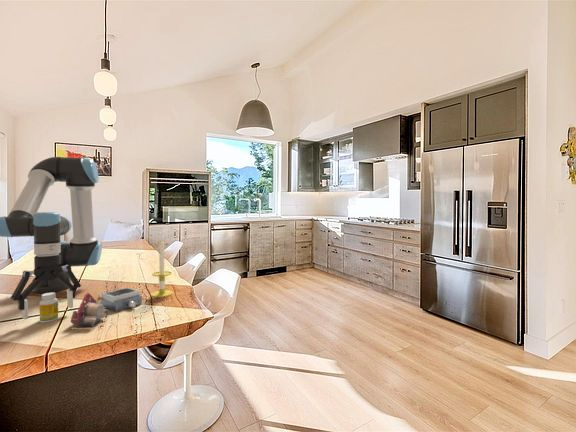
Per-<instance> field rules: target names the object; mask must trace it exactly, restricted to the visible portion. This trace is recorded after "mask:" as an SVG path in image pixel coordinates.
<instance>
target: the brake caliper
mask: <svg viewBox="0 0 576 432" xmlns="http://www.w3.org/2000/svg"><path fill="white" fill-rule="evenodd" d="M104 300H105V298H104V297H103V296H101V294H99V295H98V296H97V300H96V299H95V298H94V297H93V295H92V294H91V293H90V292H86V293H85V295H84V297H83V298H82V301H81V303H80V305H79V307H78V309H77V310H74V311H73V312H72V315H71V317H70V323H71V325H73V326H74V327H72V328H71V329H72V330H78V331H79V330H94V329H96V327H93V326H94V325H96V323H97V322H99V321H100V320H101V319H102V318H104V317H105V315H106V314H107V313H108V312H109V309H107V308H104V307H103V302H104Z"/></svg>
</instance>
